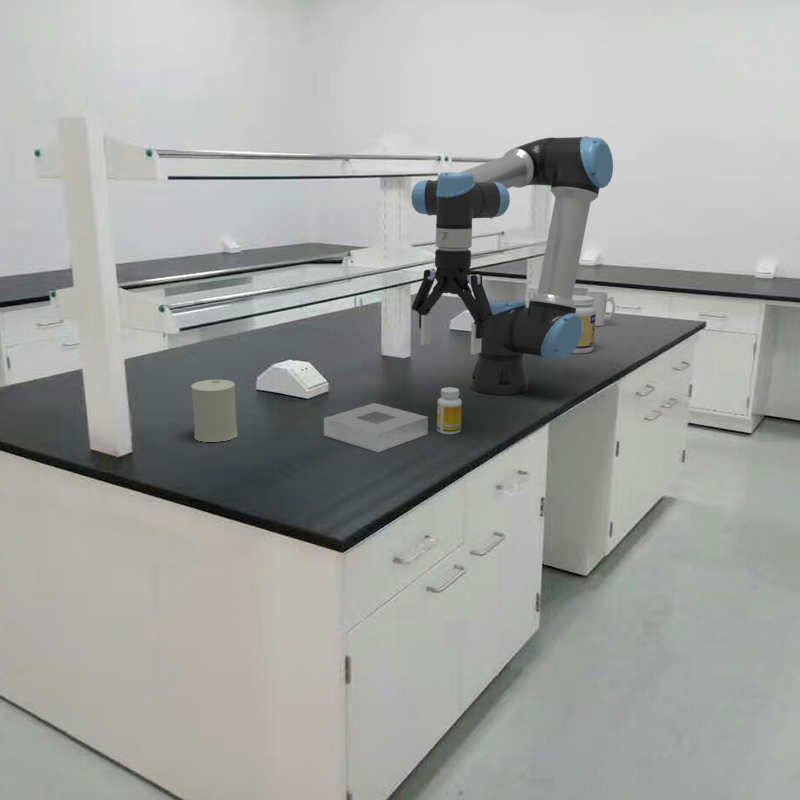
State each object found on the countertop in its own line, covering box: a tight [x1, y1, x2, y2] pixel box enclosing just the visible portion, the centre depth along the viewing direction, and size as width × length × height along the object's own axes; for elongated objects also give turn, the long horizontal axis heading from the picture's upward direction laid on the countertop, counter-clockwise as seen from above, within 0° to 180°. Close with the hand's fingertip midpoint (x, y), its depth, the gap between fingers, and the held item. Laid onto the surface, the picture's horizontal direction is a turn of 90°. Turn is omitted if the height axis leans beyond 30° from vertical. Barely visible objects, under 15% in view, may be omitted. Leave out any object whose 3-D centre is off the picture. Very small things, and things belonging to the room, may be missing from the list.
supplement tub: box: [571, 294, 596, 355], centre depth 263 cm, size 12×12×17 cm
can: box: [190, 379, 239, 443], centre depth 179 cm, size 9×9×12 cm
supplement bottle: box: [436, 386, 463, 435], centre depth 184 cm, size 5×5×10 cm
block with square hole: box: [323, 402, 429, 453], centre depth 181 cm, size 16×16×4 cm
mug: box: [587, 290, 616, 326], centre depth 304 cm, size 10×7×12 cm, turn 63°
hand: (450, 348), depth 180 cm, fingers open, 13 cm apart
